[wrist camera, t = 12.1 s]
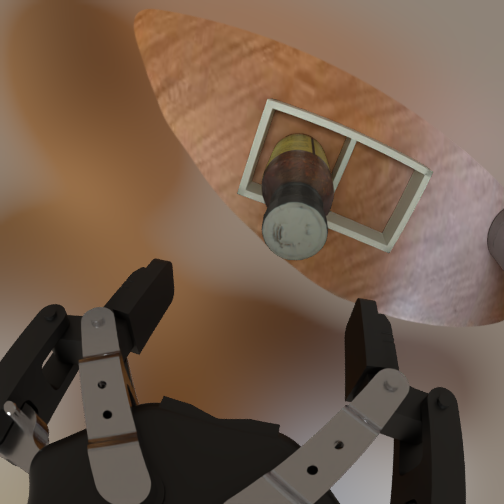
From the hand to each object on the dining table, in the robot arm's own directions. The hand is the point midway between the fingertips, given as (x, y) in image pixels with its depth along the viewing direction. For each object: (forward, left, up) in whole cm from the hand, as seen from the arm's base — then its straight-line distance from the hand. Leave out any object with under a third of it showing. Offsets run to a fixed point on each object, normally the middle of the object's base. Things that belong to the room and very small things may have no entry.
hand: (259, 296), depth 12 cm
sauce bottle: (0, 0, -26) cm, 26 cm away
